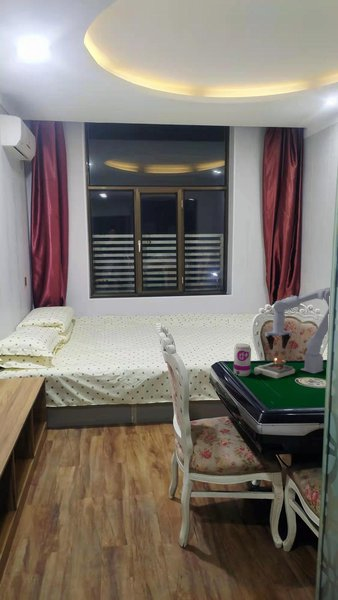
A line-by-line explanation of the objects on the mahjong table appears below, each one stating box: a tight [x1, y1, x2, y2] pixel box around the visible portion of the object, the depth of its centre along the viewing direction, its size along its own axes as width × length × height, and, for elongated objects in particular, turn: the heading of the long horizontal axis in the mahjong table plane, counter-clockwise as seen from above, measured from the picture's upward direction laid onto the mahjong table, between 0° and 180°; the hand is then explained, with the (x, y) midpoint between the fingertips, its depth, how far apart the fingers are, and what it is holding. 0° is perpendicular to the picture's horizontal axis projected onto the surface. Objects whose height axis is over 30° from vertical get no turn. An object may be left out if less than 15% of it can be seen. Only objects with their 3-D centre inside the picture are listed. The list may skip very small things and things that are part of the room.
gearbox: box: [253, 362, 296, 379], centre depth 216 cm, size 19×14×4 cm
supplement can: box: [233, 343, 252, 377], centre depth 213 cm, size 8×8×15 cm
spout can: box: [272, 356, 287, 370], centre depth 215 cm, size 5×7×6 cm
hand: (277, 348), depth 224 cm, fingers open, 7 cm apart
